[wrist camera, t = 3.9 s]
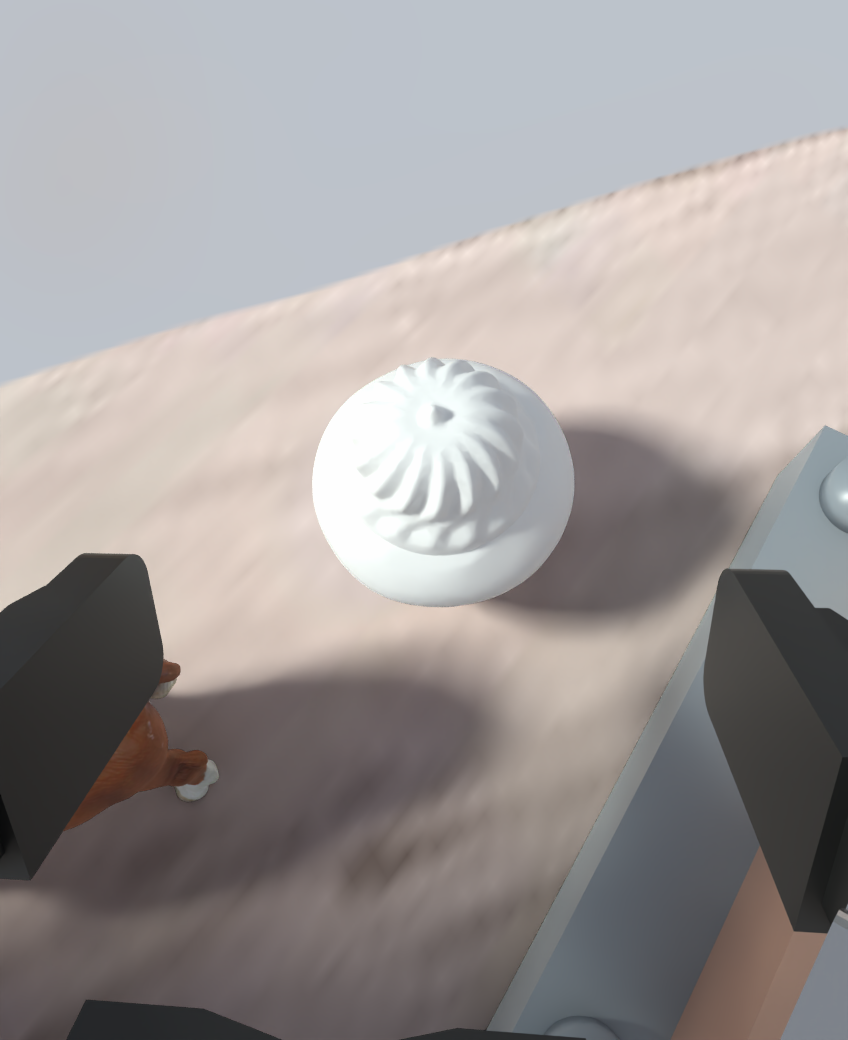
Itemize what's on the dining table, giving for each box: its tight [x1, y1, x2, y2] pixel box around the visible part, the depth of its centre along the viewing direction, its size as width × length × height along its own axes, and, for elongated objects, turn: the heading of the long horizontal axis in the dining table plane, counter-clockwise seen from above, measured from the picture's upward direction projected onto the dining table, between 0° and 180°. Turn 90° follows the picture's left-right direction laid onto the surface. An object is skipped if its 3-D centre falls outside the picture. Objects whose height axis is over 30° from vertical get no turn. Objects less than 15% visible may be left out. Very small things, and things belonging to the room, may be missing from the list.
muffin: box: [312, 358, 575, 607], centre depth 17 cm, size 6×6×7 cm
